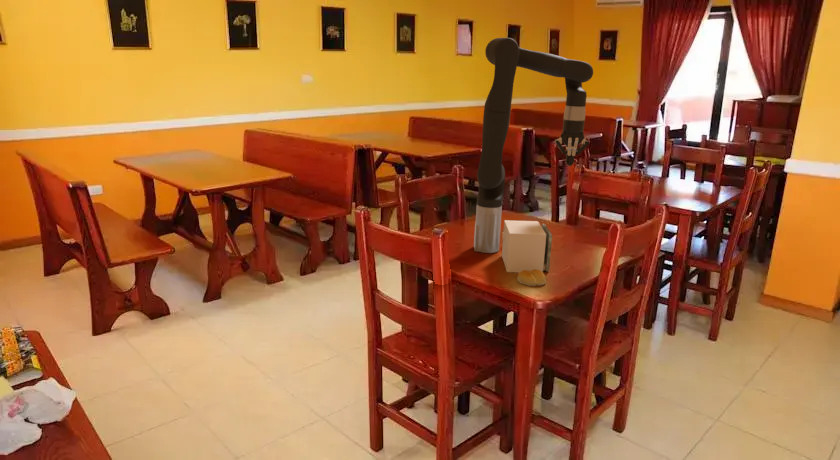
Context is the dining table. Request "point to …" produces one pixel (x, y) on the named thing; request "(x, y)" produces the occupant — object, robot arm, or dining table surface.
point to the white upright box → (523, 246)
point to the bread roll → (531, 277)
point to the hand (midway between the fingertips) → (569, 165)
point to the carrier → (547, 248)
